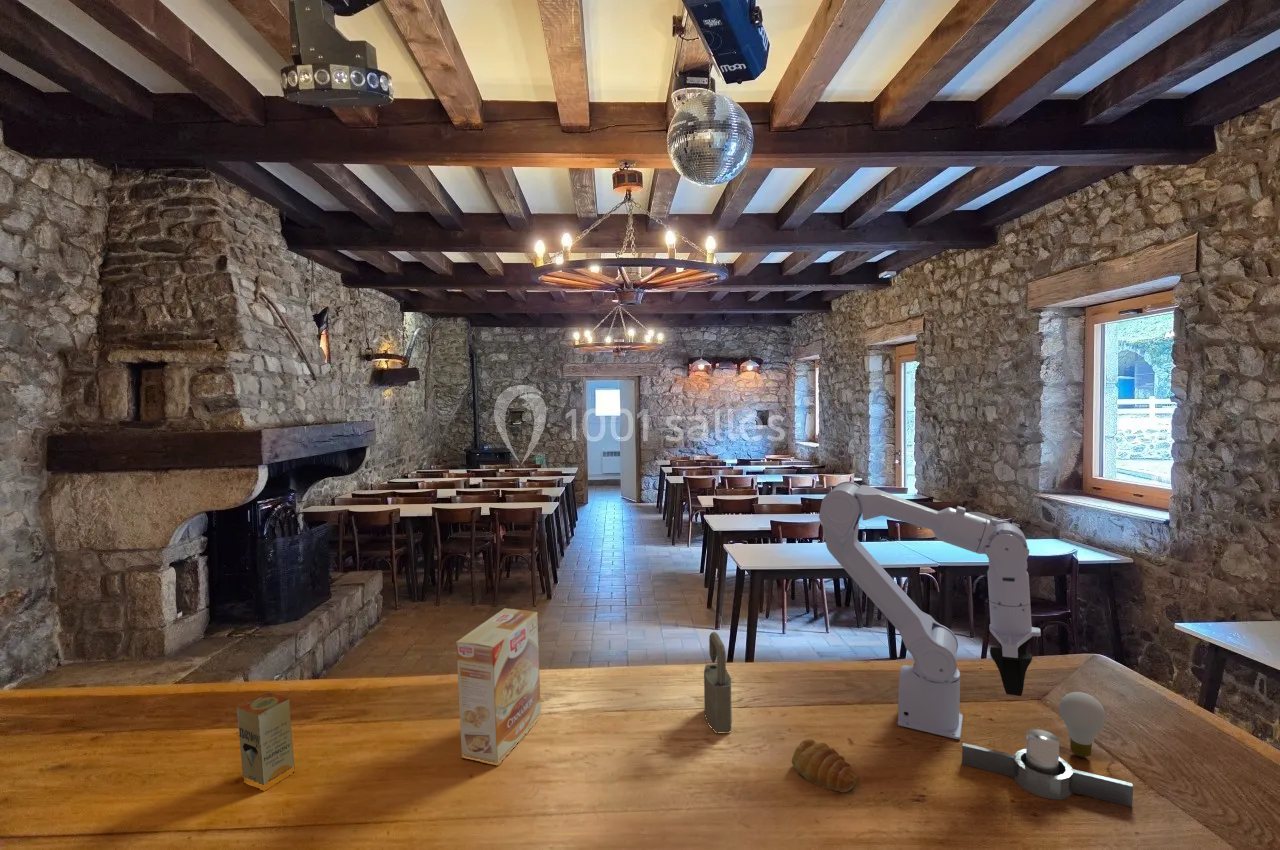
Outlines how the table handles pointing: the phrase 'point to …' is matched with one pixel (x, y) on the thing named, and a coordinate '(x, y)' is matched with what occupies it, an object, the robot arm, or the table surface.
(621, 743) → the table surface
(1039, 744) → the hinge pin
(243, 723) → the shoe polish box
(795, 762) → the pastry
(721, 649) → the padlock
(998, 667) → the robot arm
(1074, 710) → the light bulb
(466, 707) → the coffeecake box
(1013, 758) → the hinge
